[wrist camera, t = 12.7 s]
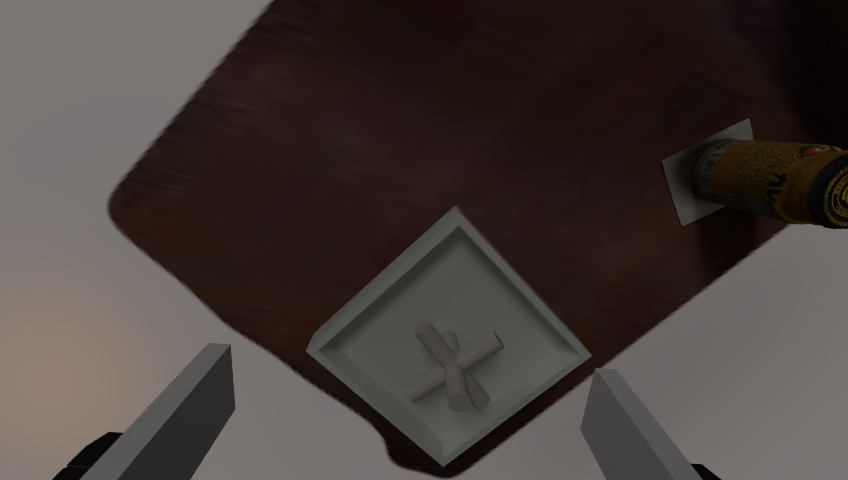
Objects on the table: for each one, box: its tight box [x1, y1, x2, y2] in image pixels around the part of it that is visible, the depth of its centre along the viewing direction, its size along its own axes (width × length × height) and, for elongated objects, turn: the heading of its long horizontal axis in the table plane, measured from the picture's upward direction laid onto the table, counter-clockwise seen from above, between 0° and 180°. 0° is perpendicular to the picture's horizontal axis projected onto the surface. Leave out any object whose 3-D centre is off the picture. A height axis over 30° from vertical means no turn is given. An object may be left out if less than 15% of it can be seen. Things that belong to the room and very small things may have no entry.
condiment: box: [662, 118, 848, 229], centre depth 32 cm, size 7×8×12 cm
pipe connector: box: [405, 320, 504, 412], centre depth 36 cm, size 10×10×10 cm
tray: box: [306, 205, 592, 467], centre depth 40 cm, size 20×20×4 cm
